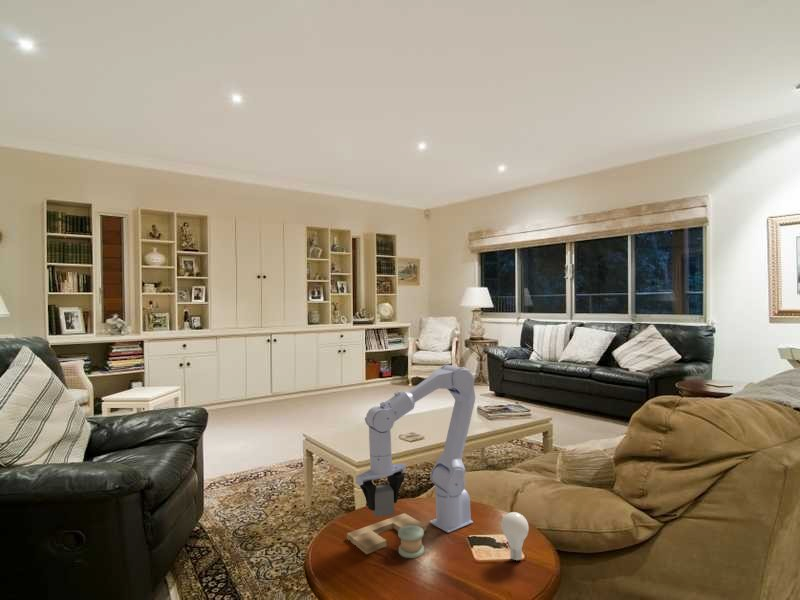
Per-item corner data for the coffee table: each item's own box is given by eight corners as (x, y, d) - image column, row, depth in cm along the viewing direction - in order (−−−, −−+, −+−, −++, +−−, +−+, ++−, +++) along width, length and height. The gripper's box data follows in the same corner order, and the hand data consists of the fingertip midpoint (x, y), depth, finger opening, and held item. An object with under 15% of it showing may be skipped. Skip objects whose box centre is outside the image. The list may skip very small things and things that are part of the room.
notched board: (404, 518, 135) (404, 513, 135) (426, 530, 127) (426, 525, 127) (347, 538, 124) (346, 533, 124) (366, 554, 116) (366, 548, 116)
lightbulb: (531, 568, 107) (529, 519, 107) (502, 566, 108) (500, 518, 109) (529, 553, 113) (527, 508, 113) (502, 552, 114) (500, 507, 115)
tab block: (390, 506, 125) (389, 484, 125) (394, 514, 120) (393, 490, 120) (371, 509, 124) (371, 486, 124) (375, 517, 119) (374, 493, 119)
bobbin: (413, 542, 121) (413, 522, 121) (429, 552, 116) (428, 531, 116) (393, 550, 117) (393, 530, 117) (408, 561, 112) (408, 540, 112)
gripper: (394, 444, 130) (396, 493, 130) (349, 455, 121) (351, 508, 121) (409, 450, 124) (411, 501, 124) (362, 462, 116) (365, 517, 115)
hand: (382, 505), depth 122 cm, fingers closed on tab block, 6 cm apart
